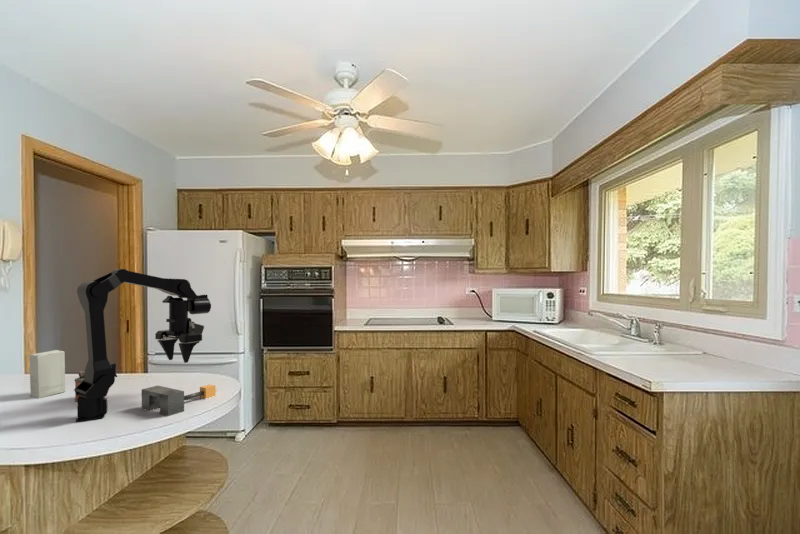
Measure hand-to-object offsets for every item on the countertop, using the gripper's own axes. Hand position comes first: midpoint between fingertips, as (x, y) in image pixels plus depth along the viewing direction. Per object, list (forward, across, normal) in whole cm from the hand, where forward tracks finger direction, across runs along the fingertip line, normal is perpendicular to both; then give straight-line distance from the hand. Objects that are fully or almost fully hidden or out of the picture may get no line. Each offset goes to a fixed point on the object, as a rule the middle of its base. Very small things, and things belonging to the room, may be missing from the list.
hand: (178, 361), depth 144 cm
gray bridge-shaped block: (+12, -11, +11) cm, 19 cm away
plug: (+12, -10, 0) cm, 16 cm away
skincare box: (+12, +43, +22) cm, 50 cm away
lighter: (+12, +24, +17) cm, 32 cm away
